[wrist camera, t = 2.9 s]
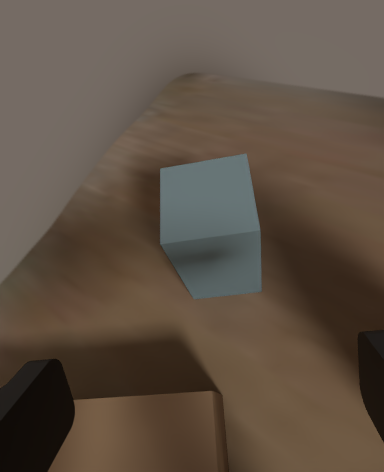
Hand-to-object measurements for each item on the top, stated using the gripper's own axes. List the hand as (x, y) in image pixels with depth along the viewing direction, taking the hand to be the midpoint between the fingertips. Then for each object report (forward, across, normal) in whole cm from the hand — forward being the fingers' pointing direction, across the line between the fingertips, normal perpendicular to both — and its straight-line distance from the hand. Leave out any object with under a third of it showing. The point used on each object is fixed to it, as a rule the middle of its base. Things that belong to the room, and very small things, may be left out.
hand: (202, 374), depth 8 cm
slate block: (+16, 0, +3) cm, 16 cm away
